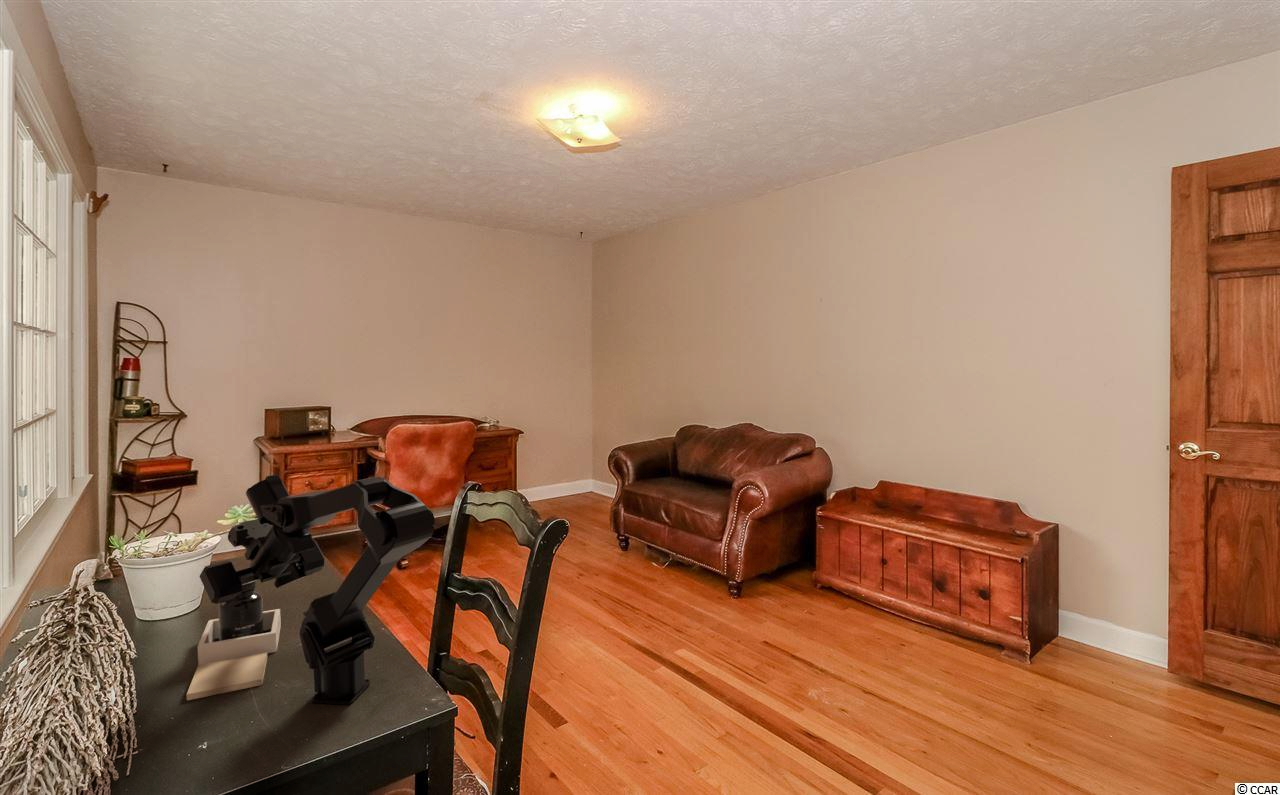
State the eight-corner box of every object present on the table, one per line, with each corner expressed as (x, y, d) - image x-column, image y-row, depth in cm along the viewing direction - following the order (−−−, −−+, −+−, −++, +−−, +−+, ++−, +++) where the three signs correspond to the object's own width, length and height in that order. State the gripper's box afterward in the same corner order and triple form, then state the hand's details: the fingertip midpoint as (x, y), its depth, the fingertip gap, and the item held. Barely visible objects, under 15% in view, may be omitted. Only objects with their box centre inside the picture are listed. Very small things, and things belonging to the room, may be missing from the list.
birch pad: (267, 657, 109) (267, 652, 109) (262, 684, 100) (261, 679, 100) (198, 670, 104) (198, 664, 104) (186, 700, 96) (186, 694, 96)
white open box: (280, 625, 121) (280, 608, 121) (276, 651, 111) (275, 632, 111) (209, 638, 116) (208, 620, 116) (198, 666, 106) (197, 646, 106)
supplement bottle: (242, 655, 110) (239, 590, 109) (210, 651, 111) (207, 587, 110) (272, 638, 116) (270, 576, 115) (242, 634, 118) (239, 573, 117)
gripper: (314, 496, 115) (283, 543, 122) (202, 519, 99) (173, 573, 106) (341, 544, 112) (308, 591, 118) (229, 577, 96) (198, 628, 102)
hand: (250, 594), depth 111 cm, fingers open, 9 cm apart
